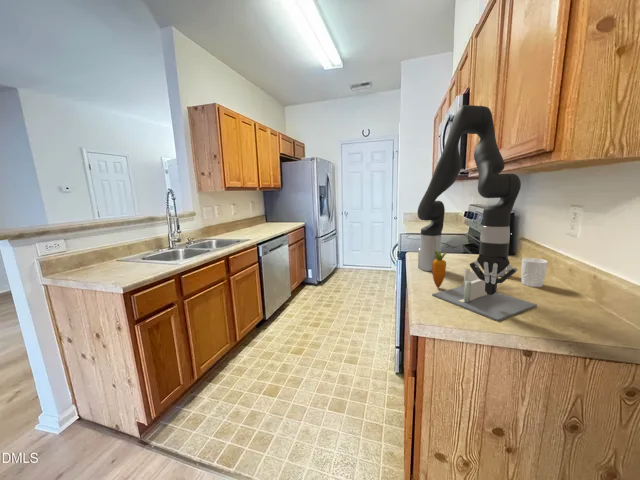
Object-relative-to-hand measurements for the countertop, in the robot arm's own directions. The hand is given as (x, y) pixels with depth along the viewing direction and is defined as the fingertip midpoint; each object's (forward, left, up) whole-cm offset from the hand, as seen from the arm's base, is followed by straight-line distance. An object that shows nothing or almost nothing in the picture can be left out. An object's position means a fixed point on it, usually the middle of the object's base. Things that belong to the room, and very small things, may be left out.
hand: (490, 293), depth 83 cm
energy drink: (-19, +38, -5) cm, 43 cm away
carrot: (-21, +2, -5) cm, 22 cm away
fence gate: (-6, +3, -4) cm, 8 cm away
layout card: (-5, +4, -5) cm, 8 cm away
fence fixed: (-11, +11, -4) cm, 16 cm away
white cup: (-5, +36, -5) cm, 37 cm away
